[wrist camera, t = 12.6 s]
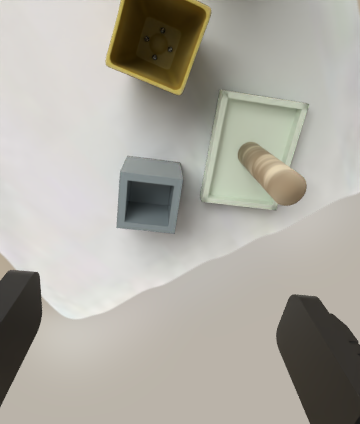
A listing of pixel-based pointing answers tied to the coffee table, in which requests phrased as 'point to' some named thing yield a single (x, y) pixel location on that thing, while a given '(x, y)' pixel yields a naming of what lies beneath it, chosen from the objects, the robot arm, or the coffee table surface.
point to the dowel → (272, 174)
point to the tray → (242, 133)
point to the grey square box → (149, 194)
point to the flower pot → (158, 40)
